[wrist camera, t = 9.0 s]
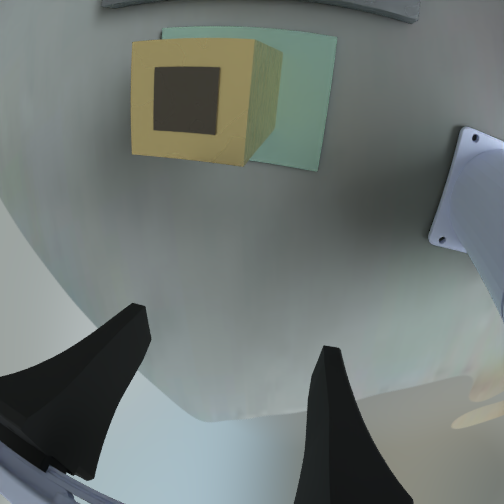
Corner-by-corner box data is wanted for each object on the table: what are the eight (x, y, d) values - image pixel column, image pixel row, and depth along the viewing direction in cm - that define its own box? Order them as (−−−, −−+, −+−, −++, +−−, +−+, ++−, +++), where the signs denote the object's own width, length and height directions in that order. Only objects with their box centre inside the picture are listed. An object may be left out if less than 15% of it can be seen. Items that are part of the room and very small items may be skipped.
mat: (337, 38, 14) (337, 37, 13) (317, 169, 18) (317, 171, 18) (165, 28, 15) (162, 28, 15) (161, 148, 20) (158, 149, 19)
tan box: (283, 52, 15) (254, 39, 8) (274, 128, 17) (242, 167, 11) (203, 48, 15) (131, 42, 9) (199, 120, 18) (130, 155, 11)
